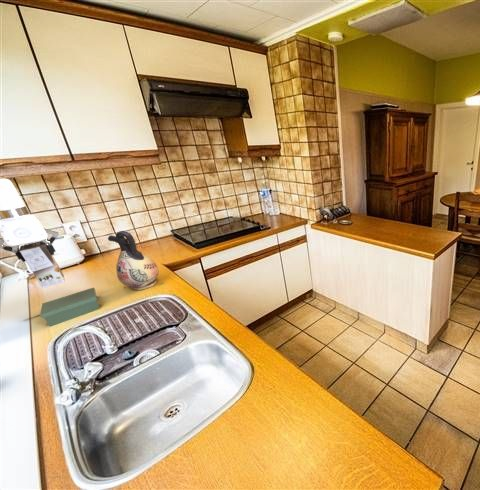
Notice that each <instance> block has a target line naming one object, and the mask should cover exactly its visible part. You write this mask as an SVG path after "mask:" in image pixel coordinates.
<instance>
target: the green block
mask: <svg viewBox="0 0 480 490" xmlns="http://www.w3.org/2000/svg"><path fill="white" fill-rule="evenodd" d="M97 301H99V297H98V295H97V292H96V289H95V287H91V288H90V287H89V288H88V289H84V290H81V291H78V292H75V293H71V294H67V295H65V296H62V297H58V298H54V299H52V300H49V301H45V302H43V303H42V304H41V308H40V312H39V316H40V317H41V319H44V320H45V322H46V323H47V324H48V326H49V327H52V326H55V325H58V324H61V323H63V322H66V321H69V320H72V319H75V318H78V317H80V316H83V315H87V314H89V313H93V312H95V311H98V310H100V308H101V307H100V305H99V304H98V302H97Z"/></svg>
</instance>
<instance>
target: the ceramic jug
mask: <svg viewBox="0 0 480 490" xmlns="http://www.w3.org/2000/svg"><path fill="white" fill-rule="evenodd" d="M107 241H108V242H114V243H116V244H118V245H119V248H120V252H119V255H118V258H117V261H116V266H115V270H116V271H115V272H116V276H117V279H118V281H119V283H121V284H122V285H124V286H126V287H129V288H131V289H133V290H135V291H140V290H146V289H148V288H151V287H153V286H154V285H155V284H156V283H157V278H158V276H159V266H158V264H156V262H155V260H154V259H153V258H151V257H150V256H149V255H147V254H146V253H144V252H142V251H140V250H139V249H138V248H137V244H136V241H135V238H134V236H133V234H131V233H130V232H129V231H125V230H120V231H117V232H116V234H115V235H112V234H111V235H109V236H108V237H107Z"/></svg>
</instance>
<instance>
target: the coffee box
mask: <svg viewBox="0 0 480 490" xmlns="http://www.w3.org/2000/svg"><path fill="white" fill-rule="evenodd" d="M19 251H20V253H21V254H22V256H23V257H24V259H25V262H26V264H27V265H28V267H29V269H30V270H31V272H32V273H33V275H34V276H35V278H36V280H37V281H38V283H39V285H40V286H41V288H42V289H44V288H47V287H51V286H54V285H58V284H60V283H64V282H65V281H66V280H65V274H64V273H63V271H62V270H61V268H60V266H59V264H58V263H57V261H56V259H55V258H54V255H51V254H50V252H49V251H48V249H47V247H46V244H45V243H44V242H42V241H37V242H33V243H28V244H23V245H19Z"/></svg>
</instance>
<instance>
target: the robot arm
mask: <svg viewBox="0 0 480 490" xmlns="http://www.w3.org/2000/svg"><path fill="white" fill-rule="evenodd" d="M59 234H60V233H59V232H58V231H55V230H51V229H48V228H45V227H44V226H43V224H42V223H41V221H40V220H39V219H38V218H37V216H36V215H35V214H34V213H30V211H29V209H28V207H27V206H26V204H25V203H24V200H23V199H22V197H21V195H20V193H19V192H18V190H17V188H16V187H15V185H14V183H13V182H12V181H11V180H10V179H8V178H4V177H2V178H1V177H0V236H1V238H0V249H1V250H5V251H7V252H11V253H13V254H15V257H16V258H17V259H18V260H19V261H21V262H22V263H25V262H26V261H25V259H24V257H23V256H22V254H21V253H20V251H19V250H20V246H22V245H27V244H31V243H35V242H40V241H42V242H44V243H45V244H46V247H47V249H48V251H49V252H50V254H51V255H52V256H55V253H56V252H57V251H56V249H55V247H54V246H53V243H54V242H55V241H56V239H57V238H58V236H59ZM49 235H51V237H50V238H48V236H49ZM4 243H5V244H4Z"/></svg>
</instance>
